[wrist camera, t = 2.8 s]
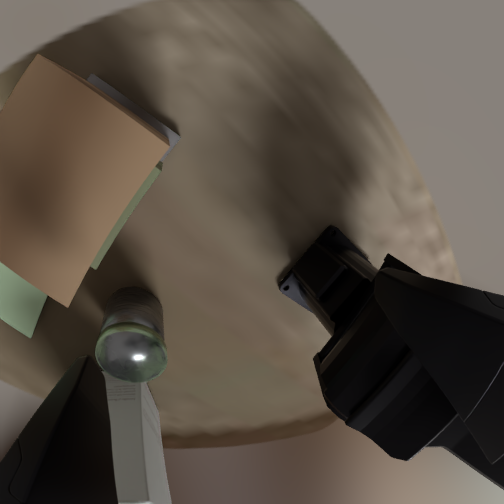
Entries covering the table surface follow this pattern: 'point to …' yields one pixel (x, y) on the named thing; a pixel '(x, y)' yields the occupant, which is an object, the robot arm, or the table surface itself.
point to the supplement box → (136, 444)
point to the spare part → (132, 336)
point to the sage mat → (19, 301)
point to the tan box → (70, 173)
